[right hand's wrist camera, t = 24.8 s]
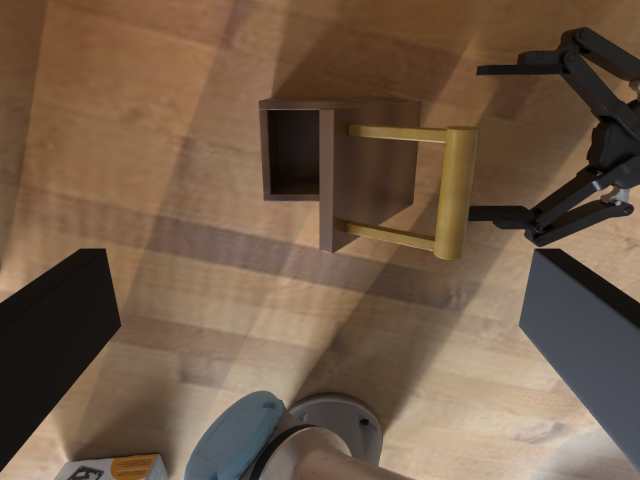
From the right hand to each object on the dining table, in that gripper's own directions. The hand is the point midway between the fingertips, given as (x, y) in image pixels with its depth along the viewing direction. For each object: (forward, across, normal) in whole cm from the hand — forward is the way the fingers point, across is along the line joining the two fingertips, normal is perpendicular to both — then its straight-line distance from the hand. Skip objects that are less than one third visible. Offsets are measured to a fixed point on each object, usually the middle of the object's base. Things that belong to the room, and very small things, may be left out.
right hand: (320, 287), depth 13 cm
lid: (+20, -4, 0) cm, 21 cm away
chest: (+35, -2, 0) cm, 35 cm away
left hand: (+29, -15, 0) cm, 32 cm away
